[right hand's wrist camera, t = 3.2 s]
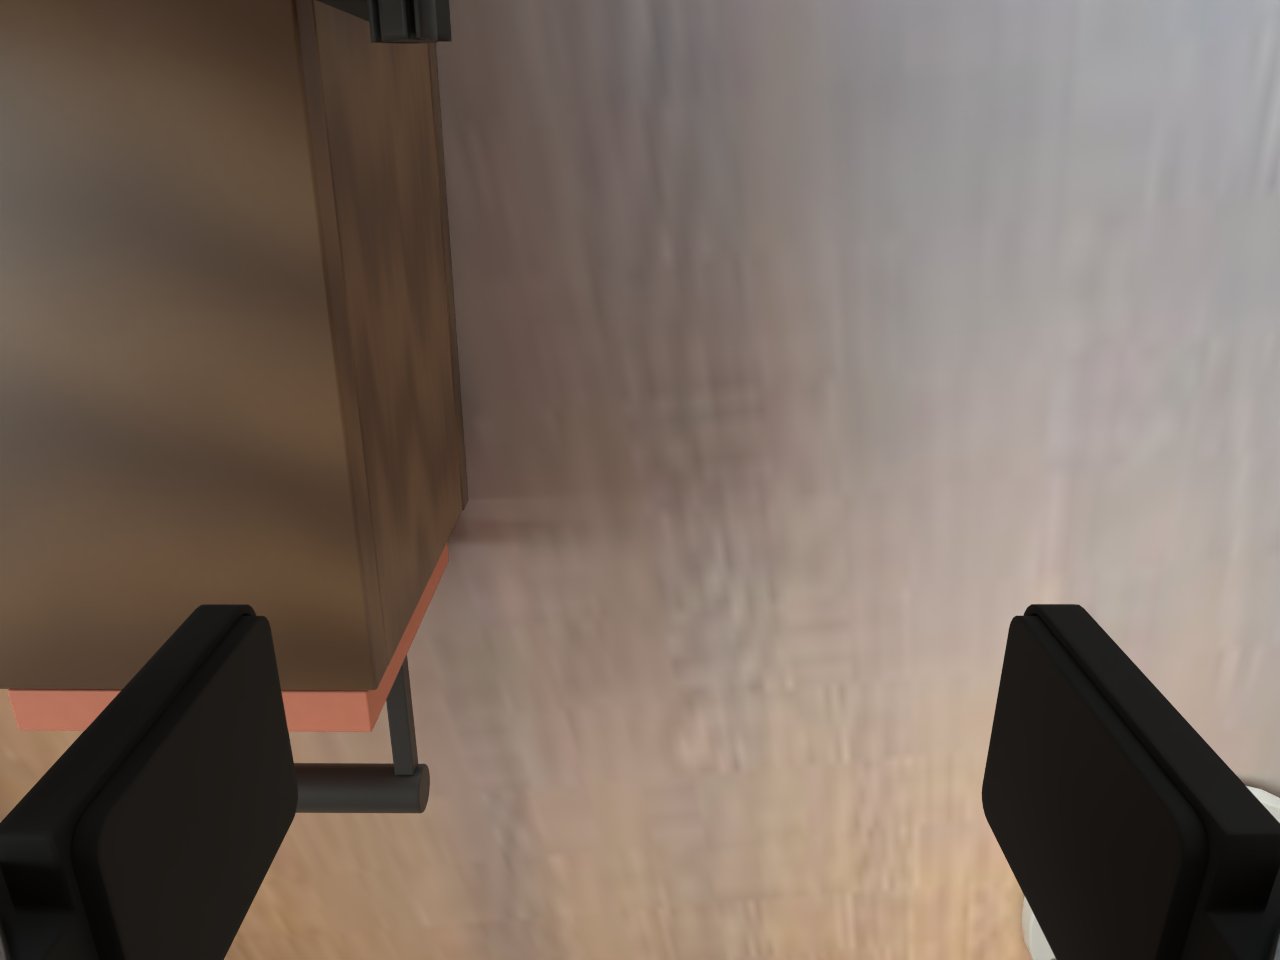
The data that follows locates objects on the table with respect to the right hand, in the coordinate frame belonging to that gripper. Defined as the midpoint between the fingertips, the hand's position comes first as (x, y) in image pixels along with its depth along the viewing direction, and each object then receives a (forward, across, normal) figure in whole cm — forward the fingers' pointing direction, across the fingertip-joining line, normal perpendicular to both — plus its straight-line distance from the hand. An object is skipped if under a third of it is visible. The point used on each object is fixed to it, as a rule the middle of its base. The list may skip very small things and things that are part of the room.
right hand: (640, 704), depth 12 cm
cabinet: (+20, +11, -5) cm, 23 cm away
